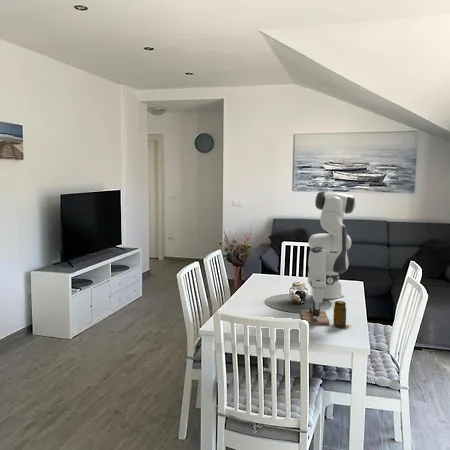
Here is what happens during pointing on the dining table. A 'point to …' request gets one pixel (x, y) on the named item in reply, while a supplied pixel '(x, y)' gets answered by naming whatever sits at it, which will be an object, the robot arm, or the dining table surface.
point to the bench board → (320, 321)
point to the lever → (314, 310)
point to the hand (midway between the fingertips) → (316, 307)
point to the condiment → (340, 315)
